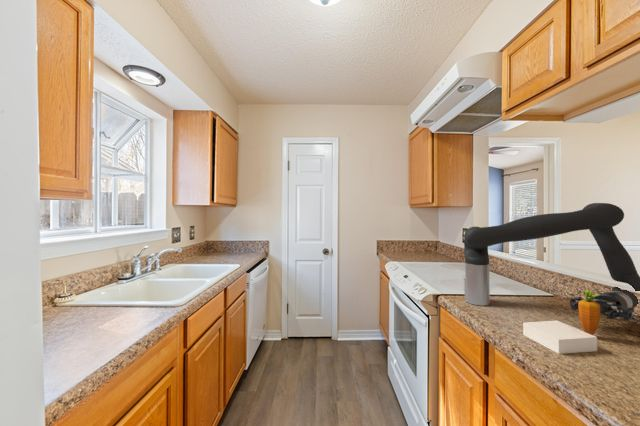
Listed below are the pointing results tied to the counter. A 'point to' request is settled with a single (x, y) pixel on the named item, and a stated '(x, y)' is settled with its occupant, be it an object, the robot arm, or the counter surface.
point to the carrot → (589, 312)
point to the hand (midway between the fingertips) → (590, 311)
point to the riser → (560, 337)
